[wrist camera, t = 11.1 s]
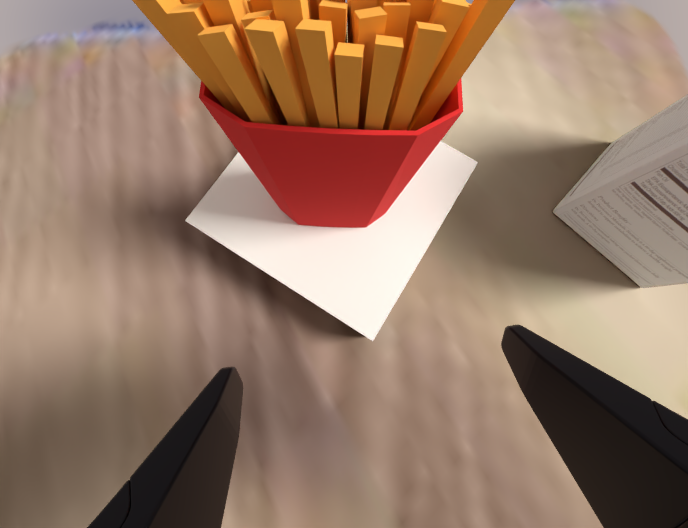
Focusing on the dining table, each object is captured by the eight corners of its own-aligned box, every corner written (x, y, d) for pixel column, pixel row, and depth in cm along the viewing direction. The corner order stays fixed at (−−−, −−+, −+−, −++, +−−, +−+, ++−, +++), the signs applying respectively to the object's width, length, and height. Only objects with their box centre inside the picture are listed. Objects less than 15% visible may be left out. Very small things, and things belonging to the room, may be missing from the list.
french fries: (399, 171, 20) (520, -109, 7) (399, 231, 19) (538, 41, 6) (261, 164, 19) (125, -139, 7) (256, 225, 19) (86, 13, 6)
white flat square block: (365, 337, 21) (372, 341, 18) (211, 237, 22) (184, 220, 19) (454, 188, 24) (478, 162, 20) (311, 104, 25) (307, 64, 21)
